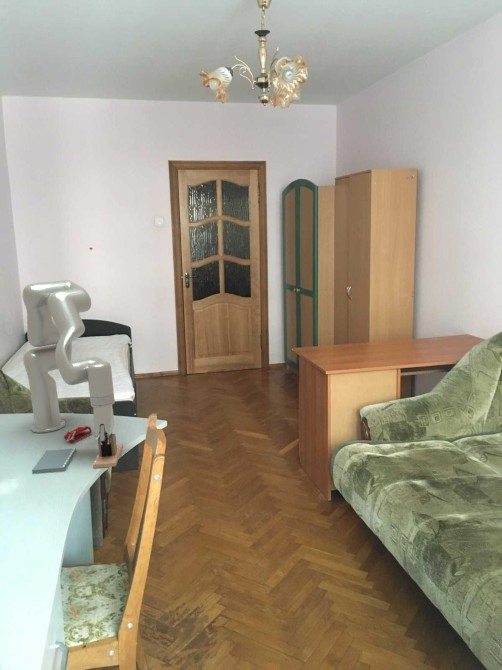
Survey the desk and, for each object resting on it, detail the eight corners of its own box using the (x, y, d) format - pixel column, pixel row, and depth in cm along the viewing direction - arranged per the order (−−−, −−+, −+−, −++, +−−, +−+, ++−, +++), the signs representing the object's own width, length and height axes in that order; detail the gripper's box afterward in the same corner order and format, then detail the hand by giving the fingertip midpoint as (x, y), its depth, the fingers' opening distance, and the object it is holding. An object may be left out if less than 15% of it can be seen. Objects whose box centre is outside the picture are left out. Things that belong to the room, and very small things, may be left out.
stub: (102, 448, 190) (100, 428, 188) (123, 447, 190) (120, 427, 189) (93, 468, 174) (90, 446, 173) (115, 466, 174) (113, 444, 173)
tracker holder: (60, 433, 205) (85, 421, 210) (64, 444, 206) (90, 432, 210) (64, 435, 194) (91, 423, 199) (70, 447, 195) (96, 434, 199)
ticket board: (46, 453, 188) (46, 450, 188) (76, 451, 189) (76, 447, 189) (32, 473, 173) (31, 469, 172) (65, 470, 173) (64, 466, 173)
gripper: (95, 393, 186) (101, 444, 190) (85, 408, 170) (91, 464, 173) (118, 391, 187) (123, 442, 190) (109, 406, 170) (115, 462, 174)
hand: (108, 452), depth 182 cm, fingers closed on stub, 4 cm apart
